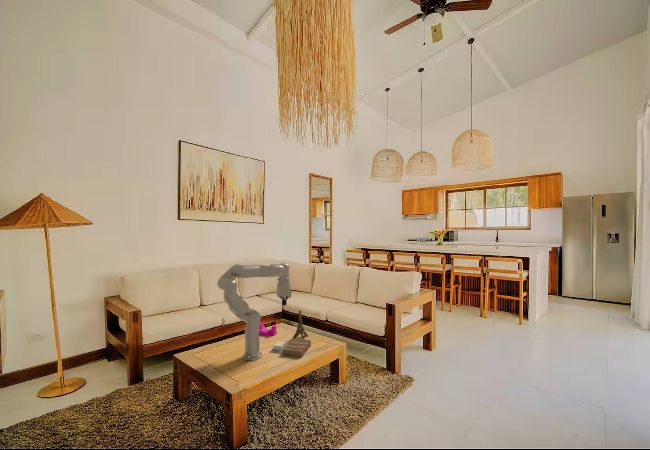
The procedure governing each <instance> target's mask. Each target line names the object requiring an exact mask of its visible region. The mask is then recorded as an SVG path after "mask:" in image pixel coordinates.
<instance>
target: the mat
mask: <svg viewBox="0 0 650 450" xmlns="http://www.w3.org/2000/svg"><path fill="white" fill-rule="evenodd" d="M287 344H288V343H286V345H287ZM269 353H273V354H282V355H283V349H282V350H281V351H280V350H273V348H272V349H271V350H270V351H269Z"/></svg>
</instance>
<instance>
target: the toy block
mask: <svg viewBox="0 0 650 450" xmlns="http://www.w3.org/2000/svg"><path fill="white" fill-rule="evenodd" d="M259 334H260V335H259V336H263V335H264V337H268V336H272V337H274V336H276V335H277V325H276V324H273V325H272V326H271V328H270V329H268V328H266V326H265V324H264V323H263V322H260V326H259Z"/></svg>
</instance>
